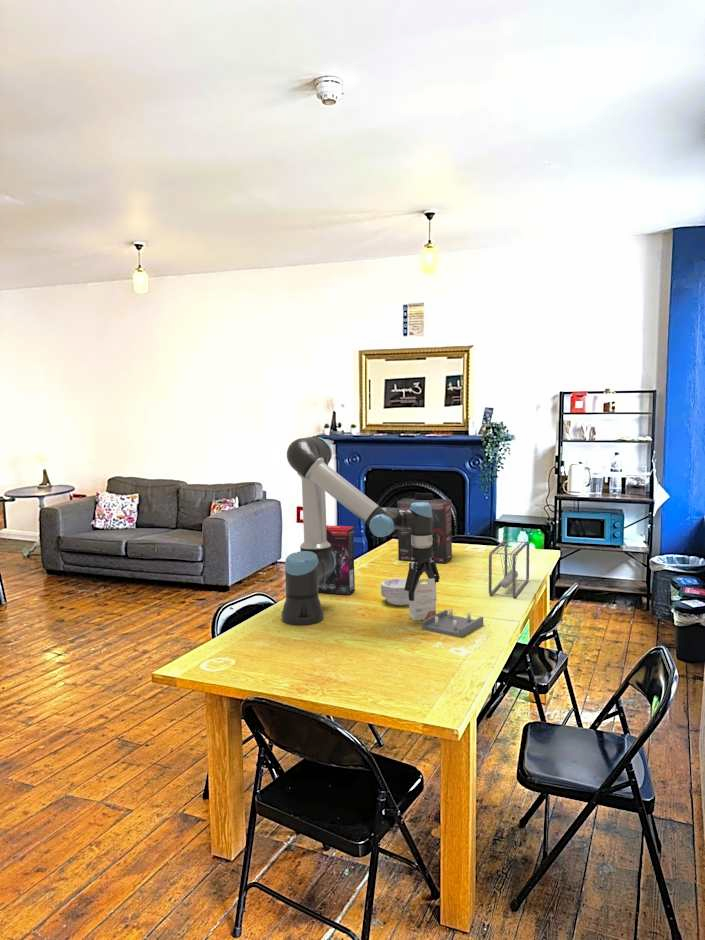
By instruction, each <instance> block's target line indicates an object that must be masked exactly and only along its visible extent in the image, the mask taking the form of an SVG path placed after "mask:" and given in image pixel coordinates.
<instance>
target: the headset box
mask: <svg viewBox="0 0 705 940" xmlns="http://www.w3.org/2000/svg"><path fill="white" fill-rule="evenodd" d="M415 502H426V503H429V504H431V507H432V516H433V517H432V538H433V540H432V545H431V546H432V547H433V556H434V557H435V563H436V564H447V563H448V562H449V561H451V559H452V558H453V548H452V547H453V546H452V545H453V542H452V541H453V536H452V533H453V532H452V530H453V529H452V499H444V498H442V499H441V498H440V499H437V498H434V495H433V493H431V492H430V493H429V492H423V493H422V492H416V493H415V494H414V498H407V497H405V498H404V497H403V498H402V499H400V500H398V501H397V502H396V505H397V507H396V508H410V507H411V504H412V503H415ZM397 545H398V546H397V548H398V550H397V553H398V555H397V556H398V561H404V562H414V561H415V559H414V558H413V557H412V551H411V548H412V545H411V529H397Z"/></svg>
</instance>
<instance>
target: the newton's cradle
mask: <svg viewBox="0 0 705 940" xmlns="http://www.w3.org/2000/svg"><path fill="white" fill-rule="evenodd" d="M510 543H519V544H517V546H516V547H514V548H513V549H512V550H511V547H510ZM525 547H526V559H525V561H526V562H525V563H526V567H525V568H526V570H525V571H526V572H525V573H526V574H525V575H526V576H525V577H526V578H525V580H524V579H517V578H518V576H519V573H518V571H517V570H516V565H517V560H518V555H519V553H520V552H522V550H523V549H524V548H525ZM502 550H503V551H502ZM493 554H494V555H495V554H496V555H500V557H502V558H503V560H504V561H502V559H500V561H501V562H500V563H503V564H504V566H503V564H501V567H502V569H504V570H502V572H503V573H502V574H503V579H501V581H500V582H499V583H498V584H497V585H496V586H495V587H494V588H493V587H492V584H493V583H492V581H493V579H492V575H493V573H492V571H493V570H492V568H493V565H492V563H493V561H492V558H493ZM501 555H504V556H501ZM508 556H509V557H508ZM509 559H510V560H509ZM529 580H530V542H529V541H527V540H526V541H518V540H516V541H515V540H507V539H503V540H502V541H501V542H500V543H499V544H498V545H496V547H494V548H493V549H491V551H490V552H489V553H488V595H489V596H493V595H494V596H495V595H496V596H503V597H504V596H505V597H513V598H514V599H515V598H517V597H518V595H519V594H520V593H521V591H522V590H523V589H524V587H525V586H526V585H528V582H529ZM518 581H519V582H523V583H522V584H521V585H520V587H519V588H518V589H517V591H516V582H518ZM511 585H512V587H511V588H512V594H511V595H510V594H499V593H496V591H497V590H499V588H500V587H502V588H504V589H507V588H509V587H510V586H511Z"/></svg>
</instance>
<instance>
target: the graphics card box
mask: <svg viewBox="0 0 705 940" xmlns="http://www.w3.org/2000/svg"><path fill="white" fill-rule="evenodd" d="M354 528H355V527H354V526H353V525H352V526H346V525H344V526H343V525H328V524H326V529H327V541H328V542H329V543H330V544H331V551H332V553H334V555H335V559H336V565H335V568H334V570H333V572H332V573H331V574H330V575H329V576H328V577H327V578H326V579H323V580H322V581H320V582H319V583H318V593H321V594H322V593H323V594H337V595H348V596H349V595H351V594H353V593H354V592H355V591H356V588H355V587H356V585H355V580H356V579H355V578H356V577H355V549H354V548H355V547H354V543H355V541H354V538H355V537H354Z"/></svg>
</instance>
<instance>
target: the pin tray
mask: <svg viewBox="0 0 705 940" xmlns="http://www.w3.org/2000/svg"><path fill="white" fill-rule="evenodd" d="M448 612H449V614H448ZM453 612H454V611H453V609H452V608H450V609H449V610H447V609H445V610H442V611H440V612H438V613H436V615H434V616H432V617H430V618H428V619H425V620H421V630H424V631H429V632H434V633H438V634H443V635H447V636H452V637H456V638H461V639H462V638H463V637H465V636H467V635H469V634H470V633H472V632H473V631H475V630H477V629H478V628H480V627H482V626H484V617H483V616H480V617H478V618H475V619H474V618H471V617H472V616H471V614H472V613H471V612H467V613H466V616H467V617H464V616H458V615H454V613H453Z"/></svg>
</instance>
